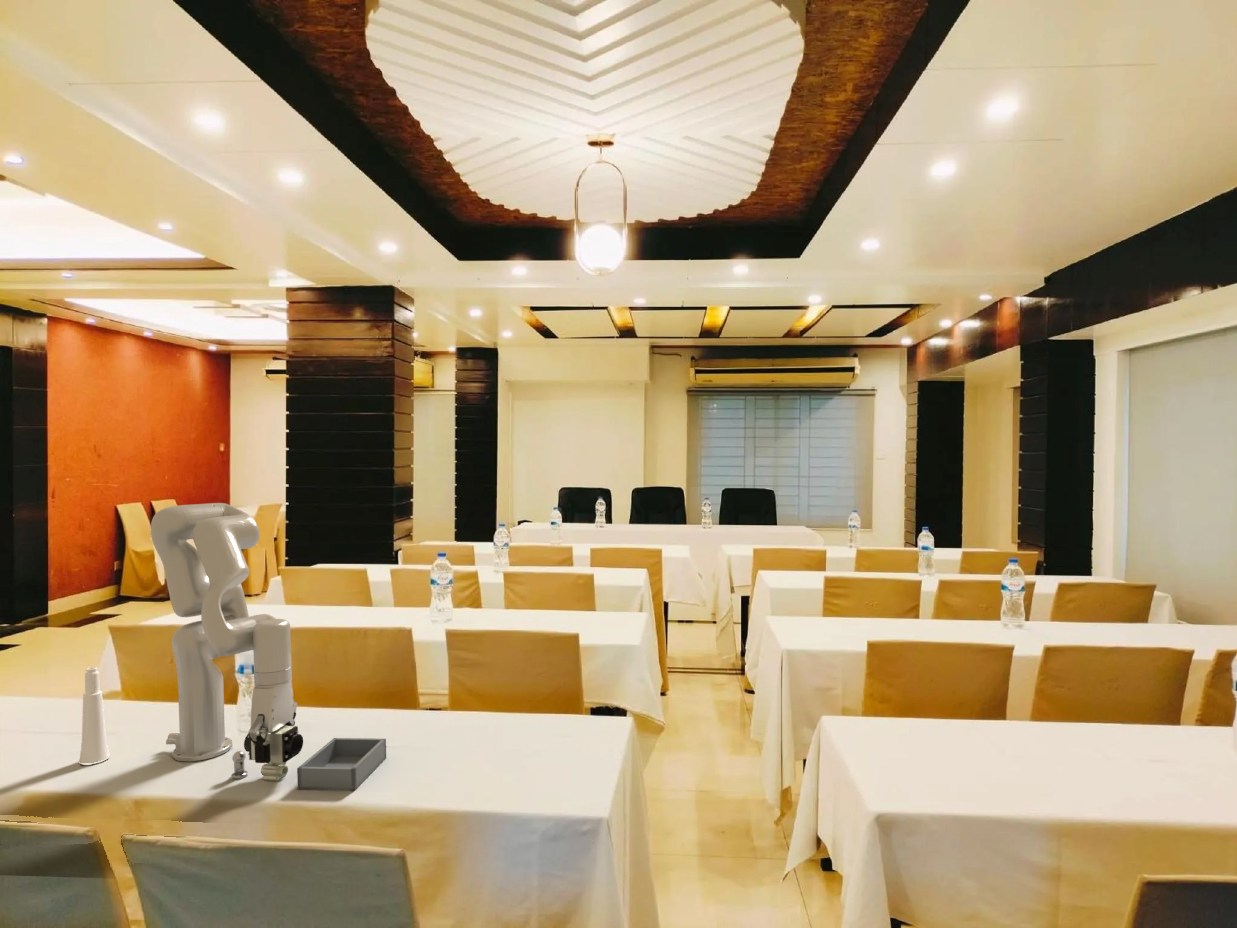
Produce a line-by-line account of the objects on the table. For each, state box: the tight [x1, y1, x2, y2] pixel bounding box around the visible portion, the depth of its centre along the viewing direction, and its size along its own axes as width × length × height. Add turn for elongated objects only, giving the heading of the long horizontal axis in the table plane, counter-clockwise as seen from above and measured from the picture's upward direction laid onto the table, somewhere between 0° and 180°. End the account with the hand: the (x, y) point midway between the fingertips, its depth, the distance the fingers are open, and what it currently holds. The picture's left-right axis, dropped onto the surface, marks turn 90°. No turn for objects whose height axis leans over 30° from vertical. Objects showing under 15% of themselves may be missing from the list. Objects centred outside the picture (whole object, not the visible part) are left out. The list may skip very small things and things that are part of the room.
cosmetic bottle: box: [78, 666, 111, 763], centre depth 174 cm, size 6×6×22 cm
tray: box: [296, 737, 387, 792], centre depth 164 cm, size 13×17×5 cm
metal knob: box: [230, 750, 249, 781], centre depth 163 cm, size 3×3×6 cm
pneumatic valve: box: [243, 725, 304, 782], centre depth 163 cm, size 6×12×12 cm, turn 78°
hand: (275, 753), depth 163 cm, fingers open, 9 cm apart
